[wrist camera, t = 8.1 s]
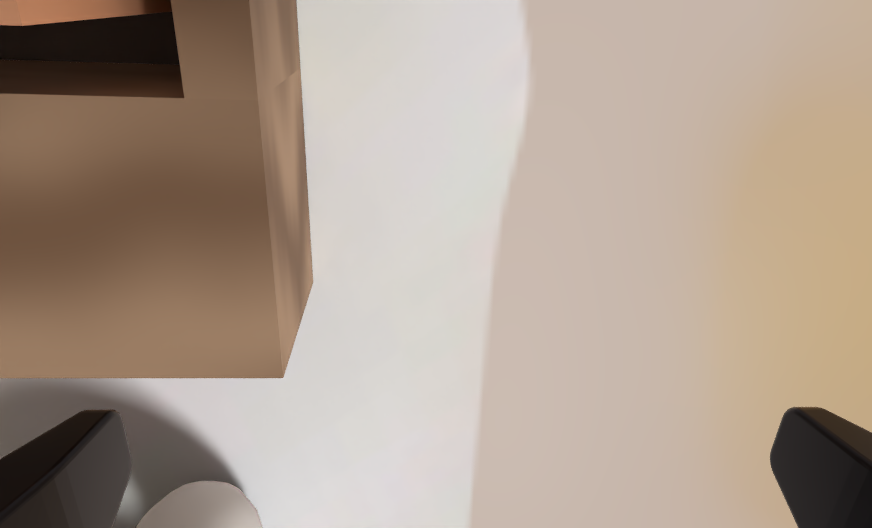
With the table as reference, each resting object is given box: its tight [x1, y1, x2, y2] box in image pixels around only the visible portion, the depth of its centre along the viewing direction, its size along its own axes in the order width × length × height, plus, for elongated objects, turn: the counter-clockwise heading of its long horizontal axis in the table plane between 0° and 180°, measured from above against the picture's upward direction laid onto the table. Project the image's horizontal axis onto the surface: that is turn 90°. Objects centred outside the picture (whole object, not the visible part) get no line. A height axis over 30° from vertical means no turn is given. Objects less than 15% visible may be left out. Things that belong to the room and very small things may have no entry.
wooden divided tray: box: [0, 0, 313, 378], centre depth 13 cm, size 16×12×7 cm
